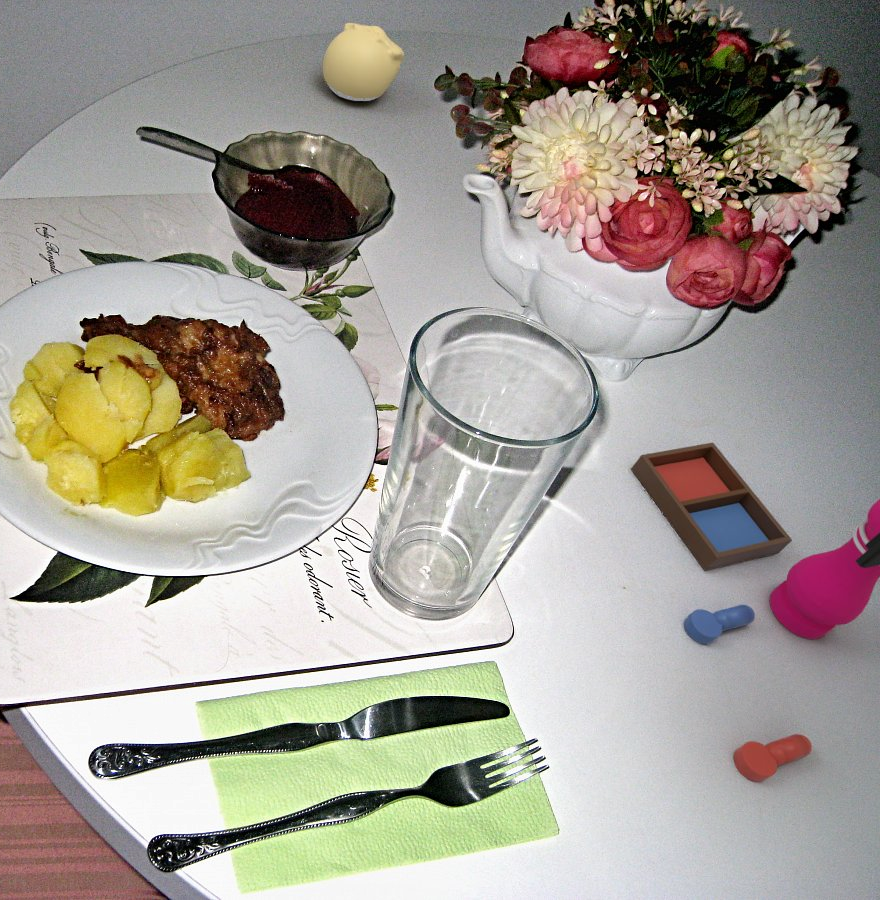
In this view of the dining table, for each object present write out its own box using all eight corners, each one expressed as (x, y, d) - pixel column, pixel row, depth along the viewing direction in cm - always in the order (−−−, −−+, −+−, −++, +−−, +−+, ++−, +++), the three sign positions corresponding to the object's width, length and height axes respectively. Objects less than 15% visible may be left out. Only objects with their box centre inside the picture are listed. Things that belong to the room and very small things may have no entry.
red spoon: (789, 731, 84) (802, 722, 82) (811, 763, 82) (825, 755, 80) (726, 752, 81) (739, 743, 79) (748, 786, 79) (762, 778, 78)
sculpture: (399, 99, 151) (419, 36, 143) (357, 118, 144) (375, 53, 136) (348, 68, 155) (364, 5, 147) (304, 85, 148) (318, 20, 140)
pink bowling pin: (846, 637, 92) (997, 525, 78) (793, 649, 90) (939, 535, 75) (802, 578, 97) (938, 461, 82) (751, 588, 94) (881, 469, 80)
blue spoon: (735, 604, 93) (746, 594, 91) (755, 631, 91) (766, 621, 89) (677, 619, 90) (688, 609, 88) (696, 647, 88) (707, 637, 87)
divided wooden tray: (701, 455, 107) (713, 442, 105) (778, 553, 99) (792, 540, 97) (630, 468, 103) (641, 454, 101) (704, 571, 95) (717, 558, 93)
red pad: (701, 461, 106) (712, 447, 104) (736, 505, 102) (749, 492, 100) (638, 472, 103) (648, 458, 101) (671, 519, 99) (683, 505, 97)
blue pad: (738, 503, 102) (739, 502, 102) (772, 546, 98) (773, 545, 98) (676, 516, 99) (677, 515, 98) (709, 561, 95) (709, 560, 95)
